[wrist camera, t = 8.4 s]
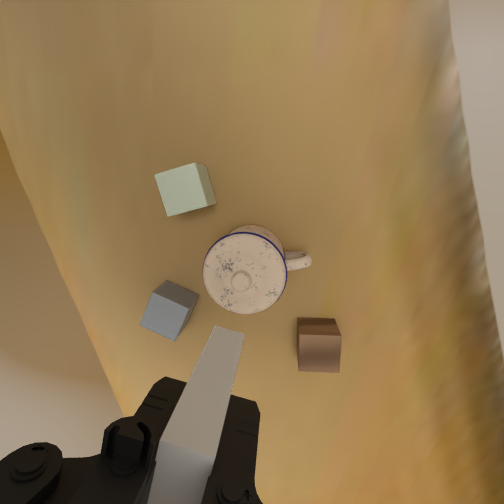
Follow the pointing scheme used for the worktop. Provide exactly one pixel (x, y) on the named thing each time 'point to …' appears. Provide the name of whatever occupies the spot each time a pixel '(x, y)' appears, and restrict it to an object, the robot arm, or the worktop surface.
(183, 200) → the sage block
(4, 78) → the worktop surface
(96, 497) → the robot arm
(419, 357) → the worktop surface
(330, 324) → the walnut block
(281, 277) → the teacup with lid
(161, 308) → the slate block
